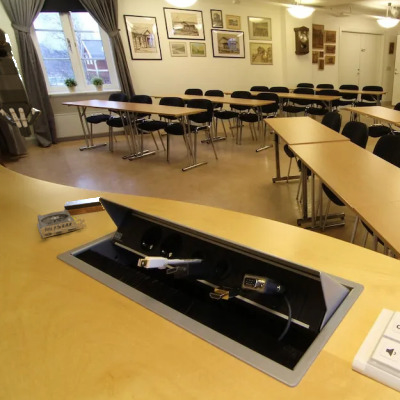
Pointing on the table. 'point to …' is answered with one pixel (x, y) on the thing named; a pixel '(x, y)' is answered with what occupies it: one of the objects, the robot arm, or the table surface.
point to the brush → (83, 206)
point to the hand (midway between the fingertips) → (27, 136)
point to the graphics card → (58, 223)
